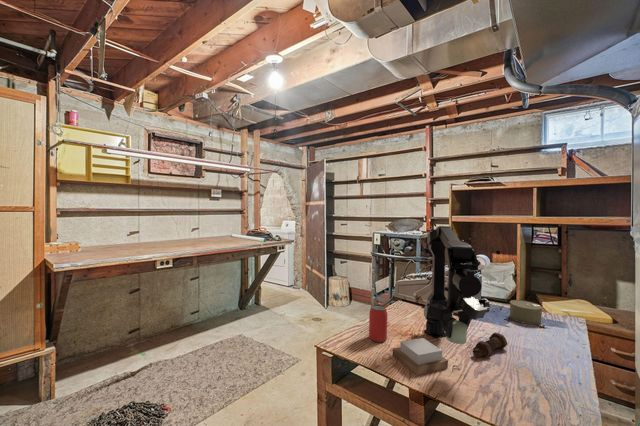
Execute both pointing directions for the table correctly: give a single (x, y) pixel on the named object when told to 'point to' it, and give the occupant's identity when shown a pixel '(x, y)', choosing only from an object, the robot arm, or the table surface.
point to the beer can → (378, 323)
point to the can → (525, 312)
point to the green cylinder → (458, 332)
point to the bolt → (490, 345)
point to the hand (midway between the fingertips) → (456, 336)
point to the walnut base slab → (422, 367)
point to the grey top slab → (420, 351)
